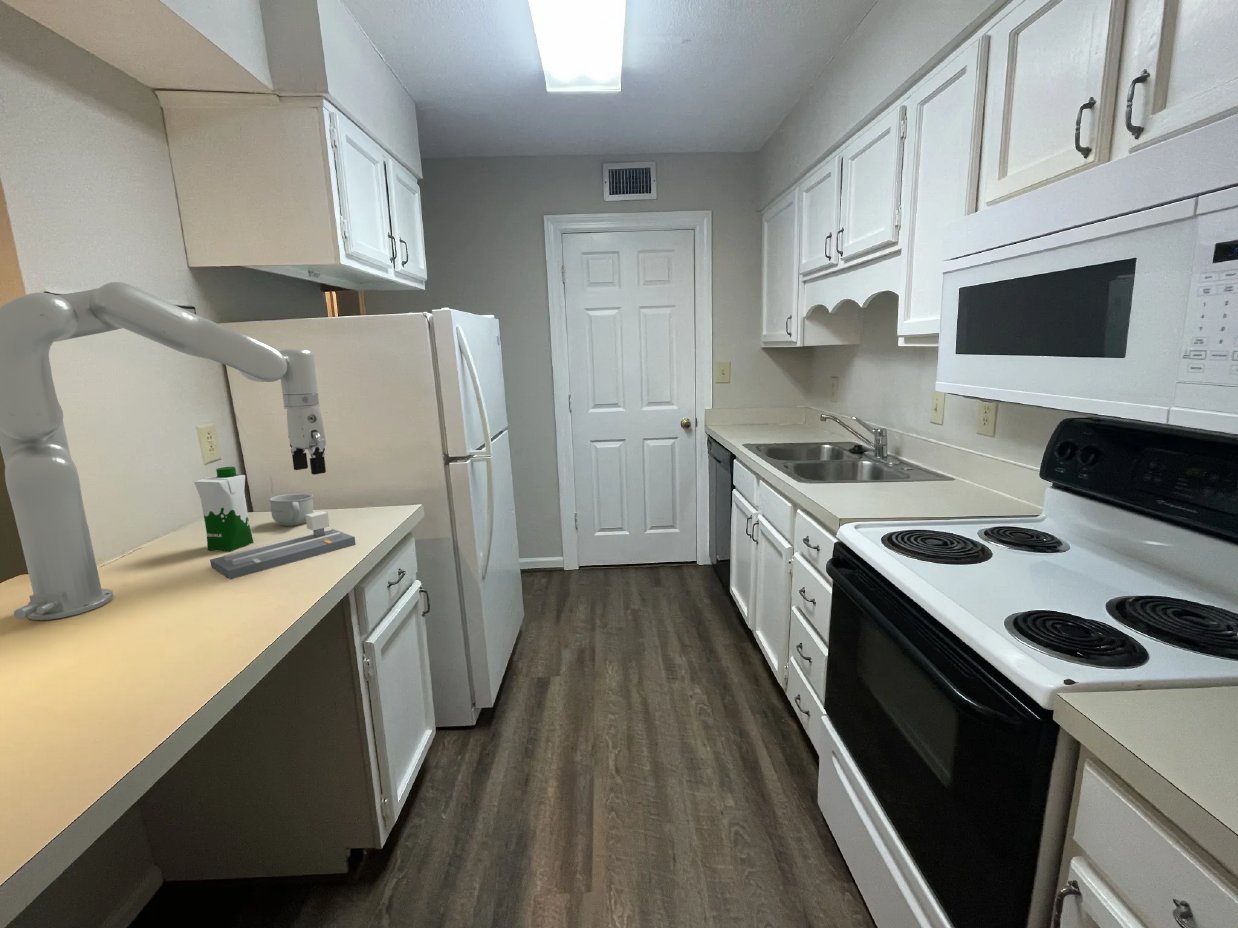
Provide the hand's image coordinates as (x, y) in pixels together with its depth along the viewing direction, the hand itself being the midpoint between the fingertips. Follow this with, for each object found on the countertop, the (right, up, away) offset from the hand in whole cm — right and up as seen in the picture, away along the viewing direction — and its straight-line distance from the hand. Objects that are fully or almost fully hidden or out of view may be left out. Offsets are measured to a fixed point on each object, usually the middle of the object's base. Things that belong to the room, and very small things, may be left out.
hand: (309, 471), depth 144 cm
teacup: (-17, -16, +24) cm, 34 cm away
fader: (+1, -17, +3) cm, 17 cm away
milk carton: (-23, -20, +6) cm, 31 cm away
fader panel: (-4, -20, -2) cm, 21 cm away
